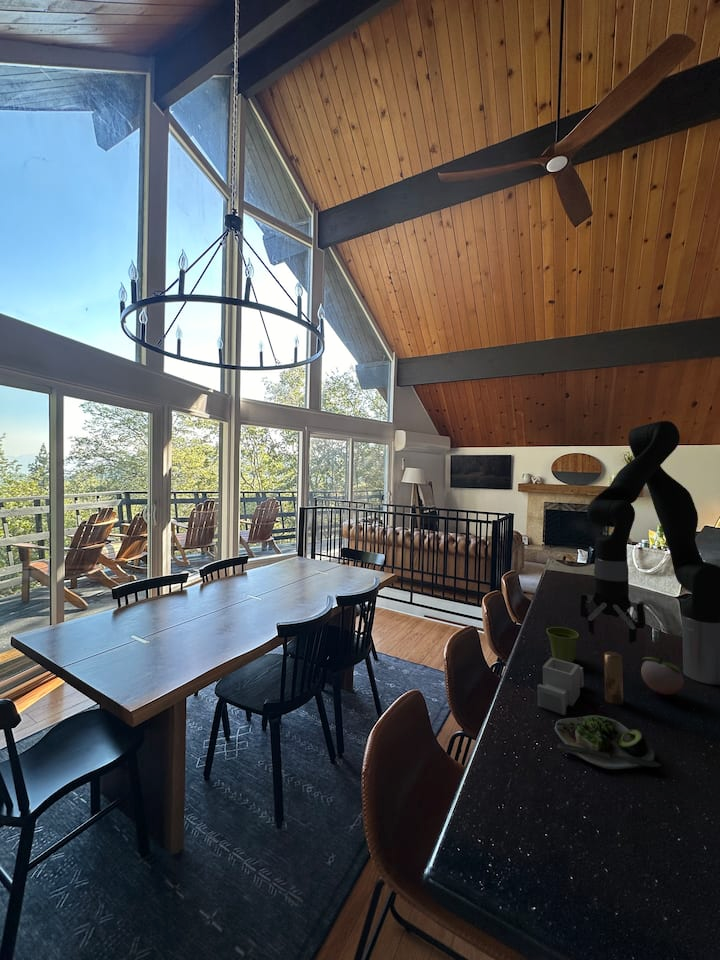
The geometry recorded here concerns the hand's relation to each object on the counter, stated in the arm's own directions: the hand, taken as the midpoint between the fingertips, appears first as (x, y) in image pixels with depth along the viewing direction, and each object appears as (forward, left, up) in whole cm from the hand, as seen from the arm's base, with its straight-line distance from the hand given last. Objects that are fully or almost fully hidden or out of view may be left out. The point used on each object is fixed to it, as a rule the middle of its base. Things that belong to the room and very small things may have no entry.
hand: (611, 638), depth 105 cm
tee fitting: (+11, +6, -16) cm, 21 cm away
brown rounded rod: (0, 0, -16) cm, 16 cm away
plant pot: (+17, -17, -17) cm, 29 cm away
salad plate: (-2, +21, -17) cm, 27 cm away
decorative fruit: (-9, -11, -17) cm, 22 cm away
